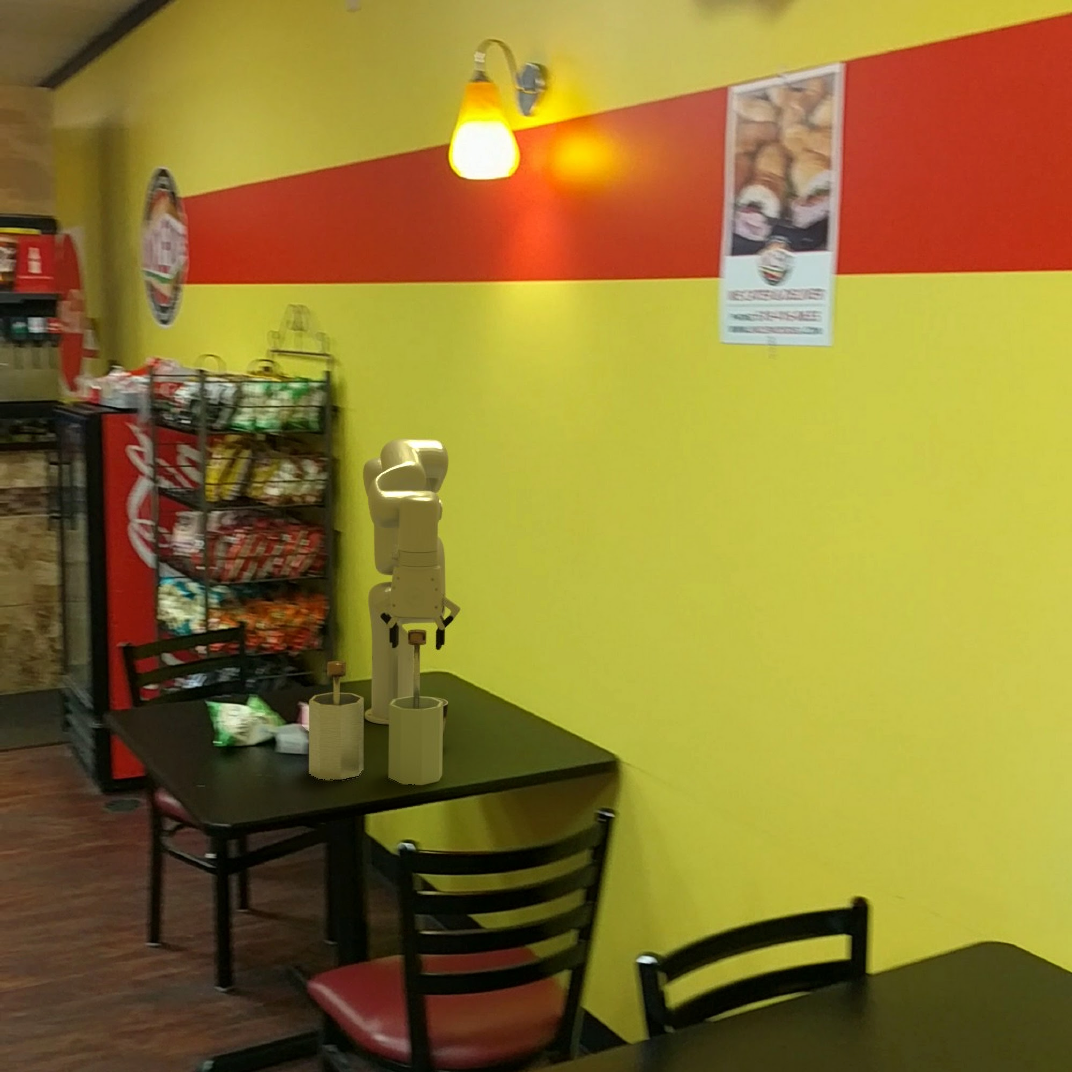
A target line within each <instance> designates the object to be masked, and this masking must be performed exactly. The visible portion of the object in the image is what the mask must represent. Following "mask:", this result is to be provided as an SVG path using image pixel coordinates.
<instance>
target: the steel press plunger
mask: <svg viewBox="0 0 1072 1072" xmlns="http://www.w3.org/2000/svg"><path fill="white" fill-rule="evenodd" d="M326 671H327V677H329V678H333V692H334V704H333V705H340V693H341V692H340V689H341V685H340V684H341V680H340V679H341V678H342V677H345V676H346V675H347V662H346V661H344V660H343V661H341V660H334V661H333V660H332V661H328V662H327V669H326Z"/></svg>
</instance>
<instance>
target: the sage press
mask: <svg viewBox="0 0 1072 1072" xmlns="http://www.w3.org/2000/svg"><path fill="white" fill-rule="evenodd" d="M435 698H436V697H434V698H432V696H420V699H419V708H426V709H406V708H413V696H408V697H403V698H397V699H393V700H392V702H391V703H390V704H389V724H388V779H389V778H391V779H393V780H395V781H397V782H399V783H402V784H401V785H408V784H412V785H413V786H424V785H428V784H433V783H437V782H439V781H440V780H441V778H442V776H443V751H444V750H443V747H444V746H443V744H444V738H443V701H441V700H438V699H435ZM391 779H390V780H391ZM393 780H392V781H393ZM395 781H394V782H395ZM397 782H396V783H397ZM399 783H398V784H399ZM414 784H415V785H414Z"/></svg>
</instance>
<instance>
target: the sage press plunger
mask: <svg viewBox="0 0 1072 1072" xmlns="http://www.w3.org/2000/svg"><path fill="white" fill-rule="evenodd" d="M407 632H408V644H410V645H414V673H413V708H406V709H426V708H419V699H420V697H421V696H420V695H421V694H420V692H421V690H420V689H421V687H420V685H421V683H420V681H421V680H420V679H421V676H420V675H421V646H425V645H427V630H425V629H419V628H418V629H416V628H415V629H414V628H413V629H409V630H408V631H407Z"/></svg>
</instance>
